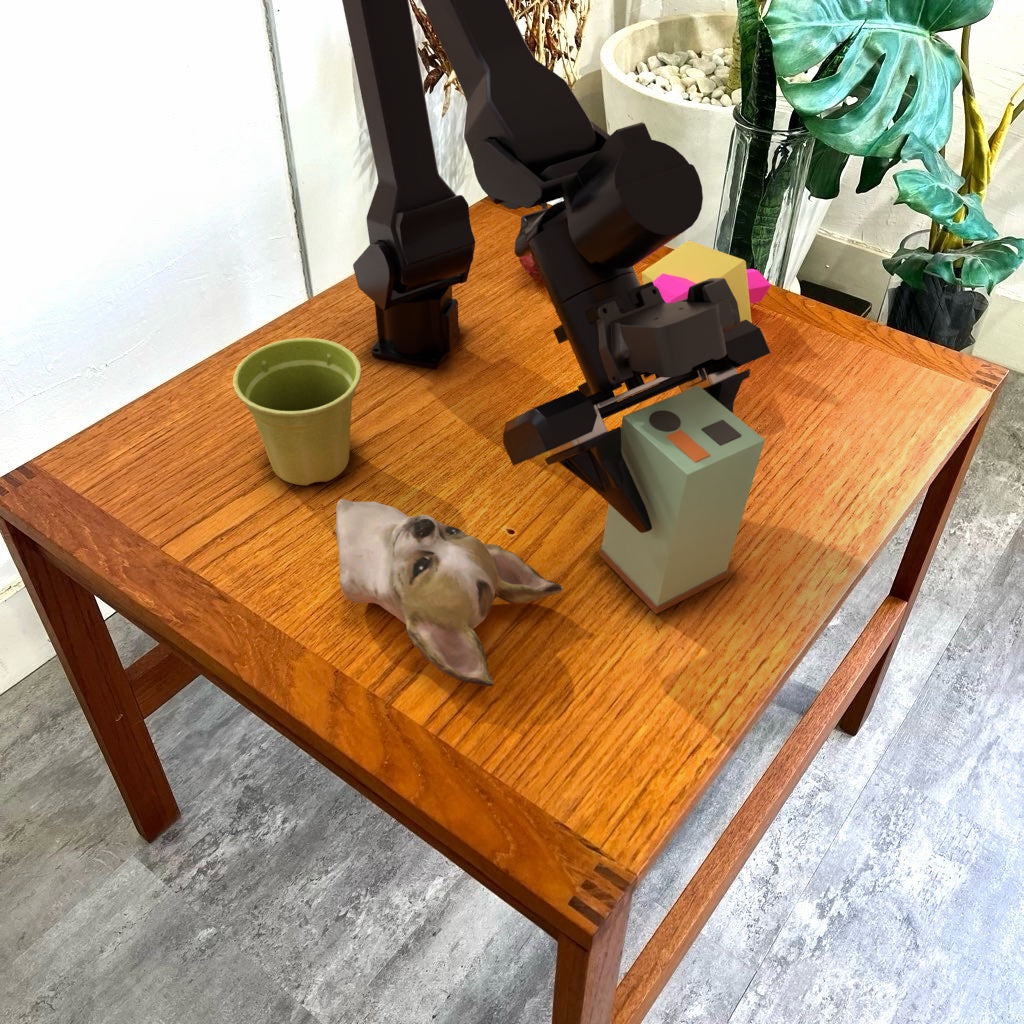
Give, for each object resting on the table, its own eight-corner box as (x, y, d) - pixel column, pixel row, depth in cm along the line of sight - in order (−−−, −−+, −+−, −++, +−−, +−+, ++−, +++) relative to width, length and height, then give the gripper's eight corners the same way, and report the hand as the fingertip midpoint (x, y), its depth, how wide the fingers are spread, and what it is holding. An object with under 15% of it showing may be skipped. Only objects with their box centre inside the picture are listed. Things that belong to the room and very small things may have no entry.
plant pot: (392, 444, 84) (384, 356, 78) (330, 515, 78) (316, 426, 72) (295, 413, 87) (280, 326, 81) (228, 480, 81) (206, 391, 75)
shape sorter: (597, 554, 75) (620, 413, 65) (667, 521, 77) (698, 382, 68) (655, 614, 71) (687, 474, 62) (727, 577, 74) (768, 438, 64)
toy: (794, 333, 98) (784, 222, 95) (712, 373, 84) (698, 243, 81) (698, 340, 104) (686, 235, 101) (607, 378, 90) (591, 258, 87)
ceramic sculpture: (383, 437, 71) (576, 523, 66) (387, 524, 77) (563, 609, 72) (284, 531, 64) (490, 635, 59) (297, 618, 70) (485, 719, 65)
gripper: (530, 294, 56) (643, 555, 57) (775, 206, 64) (871, 436, 65) (458, 350, 66) (554, 571, 67) (677, 268, 74) (762, 466, 75)
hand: (689, 510), depth 68 cm, fingers closed on shape sorter, 7 cm apart
